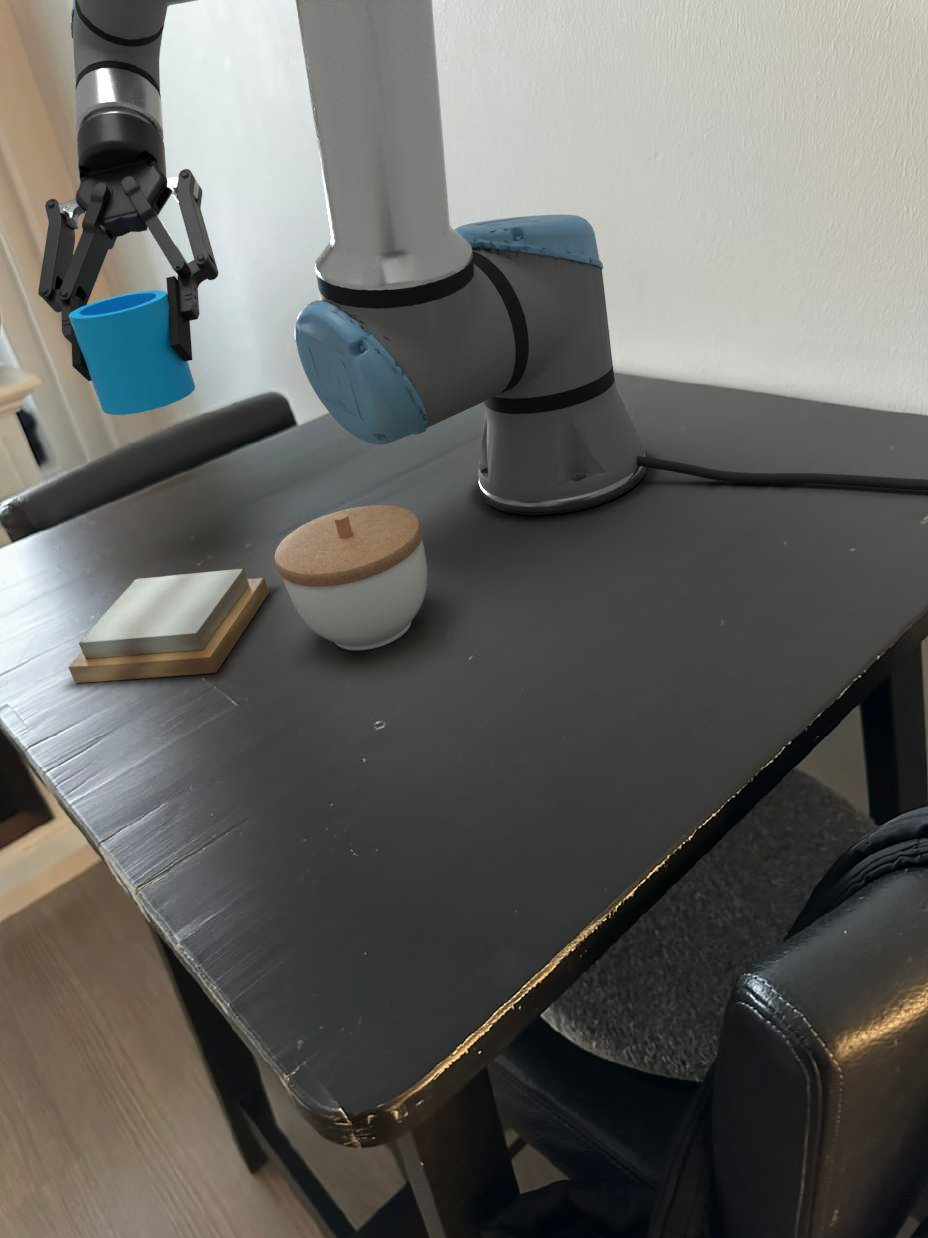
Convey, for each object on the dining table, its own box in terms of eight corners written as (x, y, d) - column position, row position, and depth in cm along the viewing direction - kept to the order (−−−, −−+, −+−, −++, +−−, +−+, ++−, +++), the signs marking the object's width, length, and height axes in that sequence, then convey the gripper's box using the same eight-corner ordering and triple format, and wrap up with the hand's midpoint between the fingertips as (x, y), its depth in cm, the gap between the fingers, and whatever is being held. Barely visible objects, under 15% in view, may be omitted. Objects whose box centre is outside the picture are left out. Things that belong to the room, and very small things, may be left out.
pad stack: (269, 592, 86) (259, 561, 85) (216, 673, 76) (203, 639, 75) (142, 604, 89) (130, 574, 88) (75, 683, 79) (60, 651, 78)
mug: (164, 411, 85) (132, 313, 81) (83, 417, 88) (48, 322, 84) (231, 365, 95) (206, 274, 91) (156, 371, 97) (128, 284, 93)
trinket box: (274, 647, 78) (237, 537, 73) (375, 581, 84) (347, 476, 79) (368, 683, 71) (333, 564, 66) (471, 609, 77) (445, 495, 72)
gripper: (245, 143, 95) (266, 360, 89) (35, 190, 97) (41, 406, 91) (215, 82, 88) (234, 314, 82) (-11, 135, 90) (-8, 365, 84)
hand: (133, 362), depth 87 cm, fingers closed on mug, 8 cm apart
